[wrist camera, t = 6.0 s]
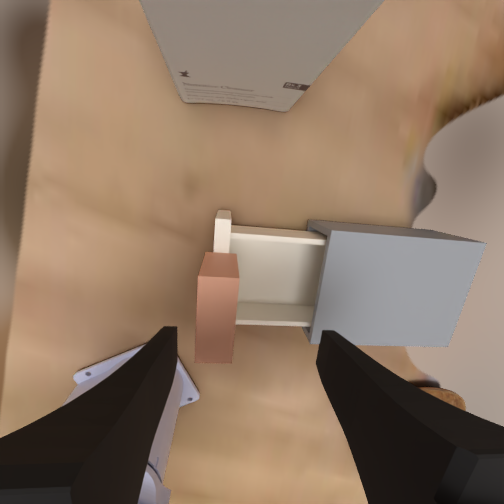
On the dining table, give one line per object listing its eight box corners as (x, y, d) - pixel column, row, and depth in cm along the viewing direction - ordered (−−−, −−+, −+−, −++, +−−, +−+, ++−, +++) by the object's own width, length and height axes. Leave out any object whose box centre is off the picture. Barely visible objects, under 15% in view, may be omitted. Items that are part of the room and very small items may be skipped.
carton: (431, 230, 22) (486, 243, 18) (405, 315, 25) (448, 347, 20) (308, 219, 21) (331, 230, 16) (293, 311, 23) (310, 344, 19)
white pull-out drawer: (358, 221, 21) (451, 250, 12) (338, 316, 24) (402, 394, 15) (212, 209, 20) (199, 231, 11) (206, 311, 22) (193, 395, 13)
